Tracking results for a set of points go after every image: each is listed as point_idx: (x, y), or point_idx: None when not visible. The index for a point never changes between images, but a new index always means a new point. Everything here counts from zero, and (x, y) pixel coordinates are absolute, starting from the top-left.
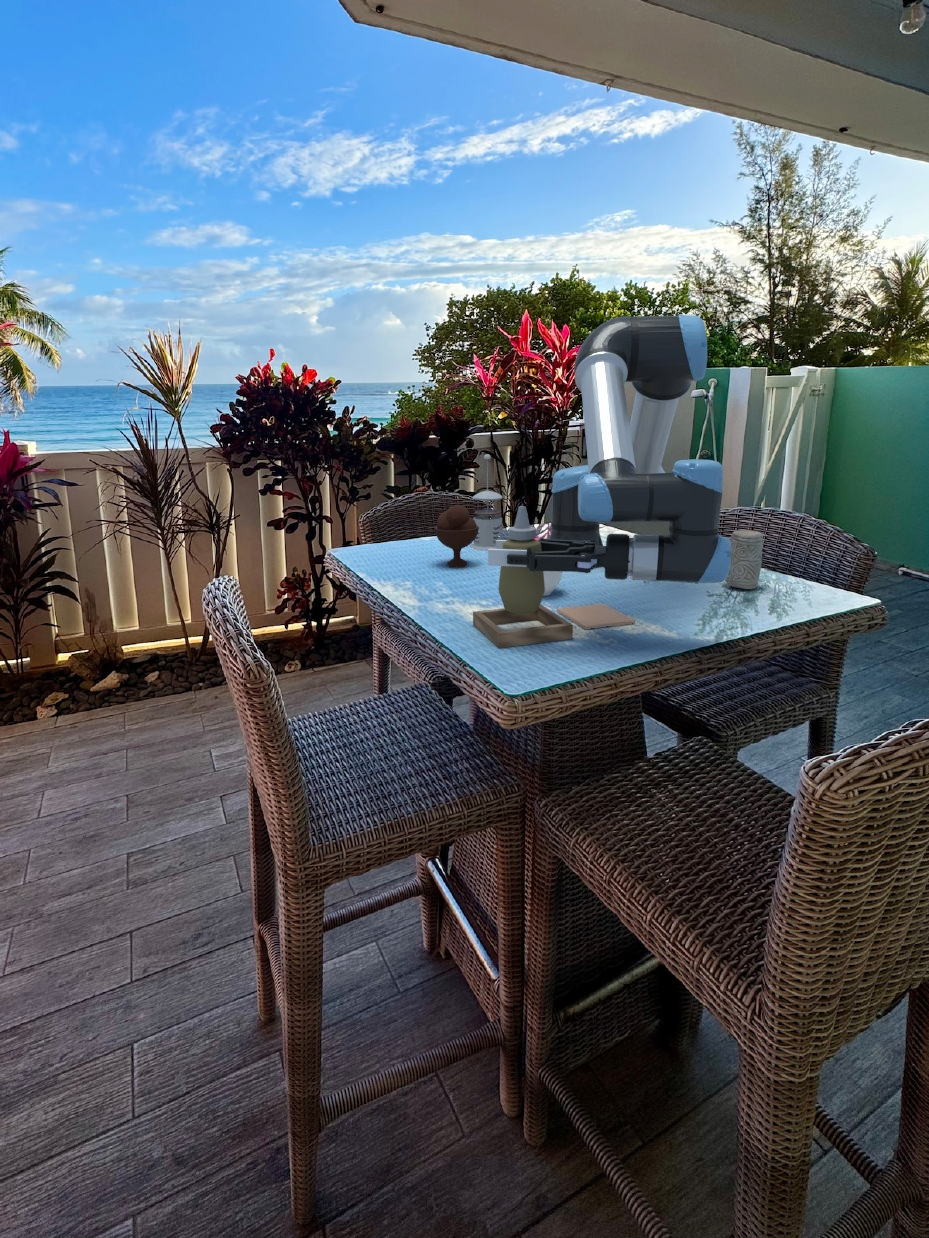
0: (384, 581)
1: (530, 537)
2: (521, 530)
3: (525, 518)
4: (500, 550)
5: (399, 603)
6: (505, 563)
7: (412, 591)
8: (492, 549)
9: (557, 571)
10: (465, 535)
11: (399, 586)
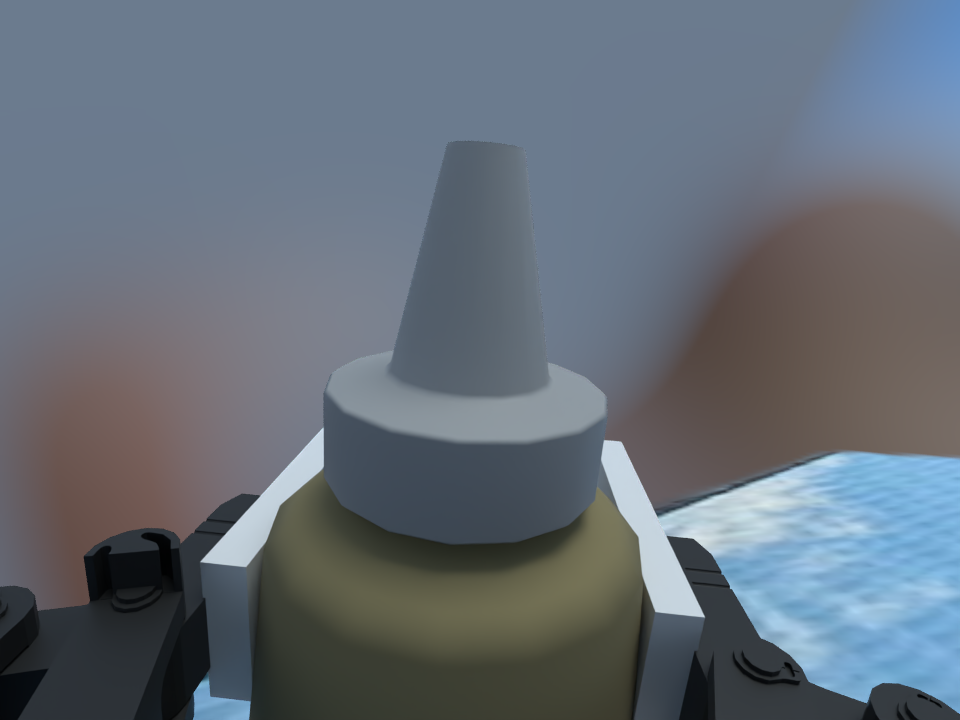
0: (821, 492)
1: (344, 484)
2: (350, 372)
3: (426, 272)
4: (307, 448)
5: (662, 527)
6: None
7: (789, 541)
8: None
9: None
10: None
11: (808, 516)
